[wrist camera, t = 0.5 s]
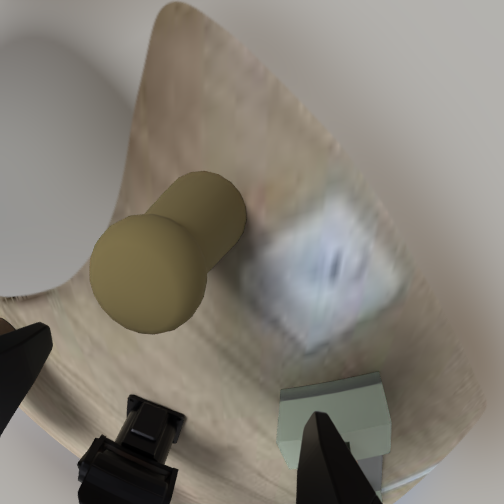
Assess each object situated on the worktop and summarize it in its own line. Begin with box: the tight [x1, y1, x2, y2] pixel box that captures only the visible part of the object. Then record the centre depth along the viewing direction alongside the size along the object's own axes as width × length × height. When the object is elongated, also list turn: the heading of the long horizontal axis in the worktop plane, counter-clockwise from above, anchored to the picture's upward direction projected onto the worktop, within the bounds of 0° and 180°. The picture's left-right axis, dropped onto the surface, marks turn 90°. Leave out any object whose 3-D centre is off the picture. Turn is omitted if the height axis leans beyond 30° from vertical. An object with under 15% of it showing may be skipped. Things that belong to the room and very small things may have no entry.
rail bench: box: [276, 371, 392, 502], centre depth 28 cm, size 30×9×6 cm, turn 16°
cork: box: [90, 171, 247, 334], centre depth 16 cm, size 6×6×11 cm
